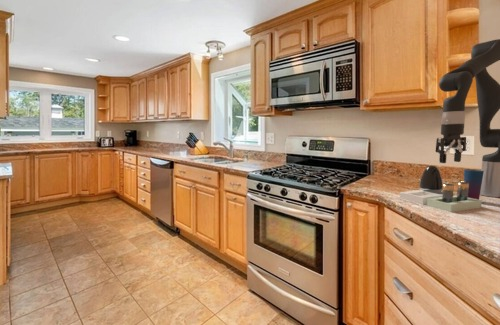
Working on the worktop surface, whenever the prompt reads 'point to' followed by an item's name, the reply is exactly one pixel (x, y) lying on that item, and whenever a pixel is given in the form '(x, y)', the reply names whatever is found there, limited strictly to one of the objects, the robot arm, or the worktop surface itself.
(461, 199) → the cell
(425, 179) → the black tapered dome
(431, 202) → the trough rack
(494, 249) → the worktop surface
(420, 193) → the battery tester
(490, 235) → the worktop surface
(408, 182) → the worktop surface
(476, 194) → the cup
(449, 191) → the cell
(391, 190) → the worktop surface
